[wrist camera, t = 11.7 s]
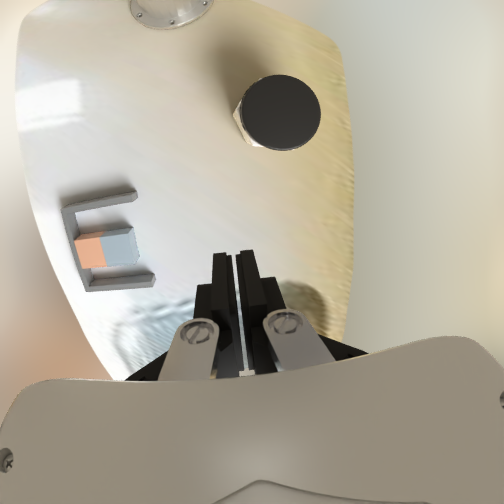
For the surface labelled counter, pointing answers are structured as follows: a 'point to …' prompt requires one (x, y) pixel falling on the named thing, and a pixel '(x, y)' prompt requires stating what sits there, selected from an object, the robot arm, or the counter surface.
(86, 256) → the tile
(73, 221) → the tray
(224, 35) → the counter surface
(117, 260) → the tile
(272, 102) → the jar
